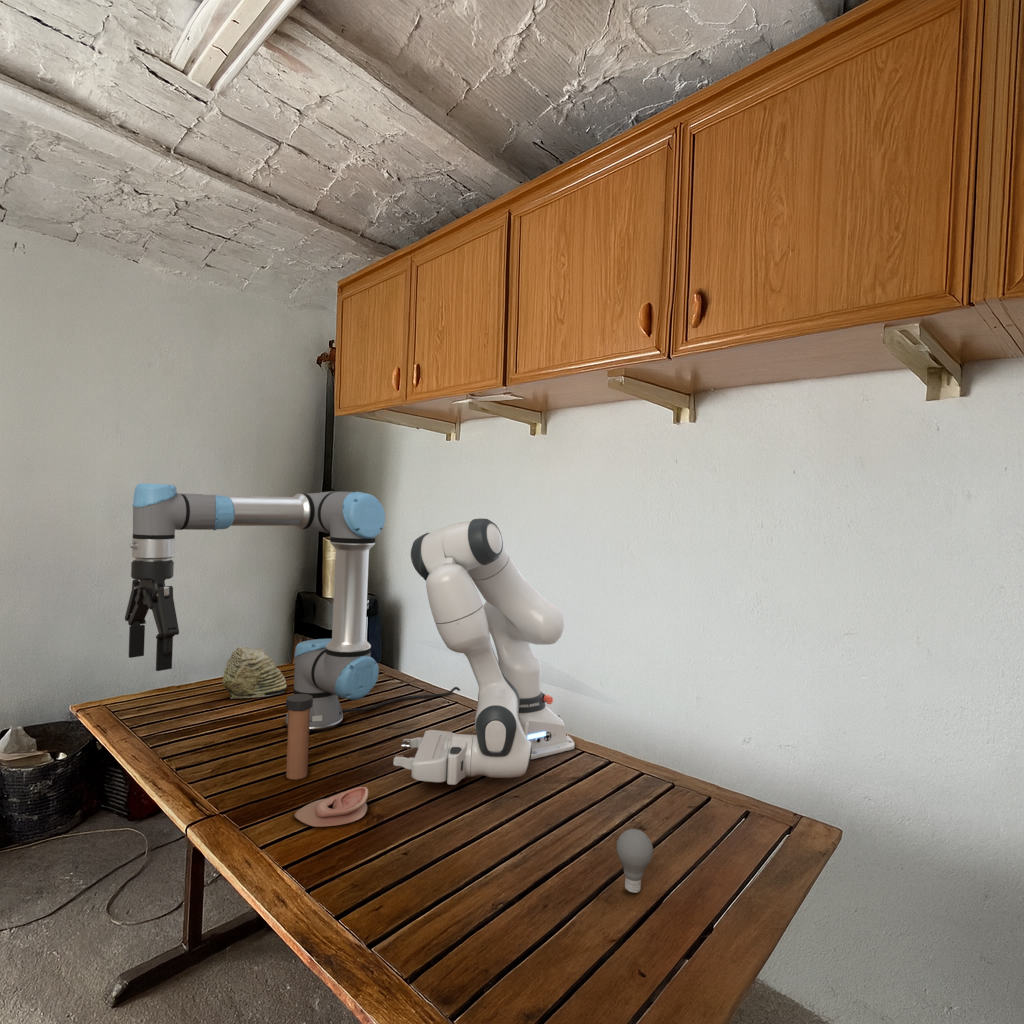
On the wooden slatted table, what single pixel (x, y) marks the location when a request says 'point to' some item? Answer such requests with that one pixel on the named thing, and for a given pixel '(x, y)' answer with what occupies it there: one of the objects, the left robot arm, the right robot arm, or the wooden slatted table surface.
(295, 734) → the jar
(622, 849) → the light bulb
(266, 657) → the fossil
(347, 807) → the anatomical model
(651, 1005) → the wooden slatted table surface
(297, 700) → the lid
